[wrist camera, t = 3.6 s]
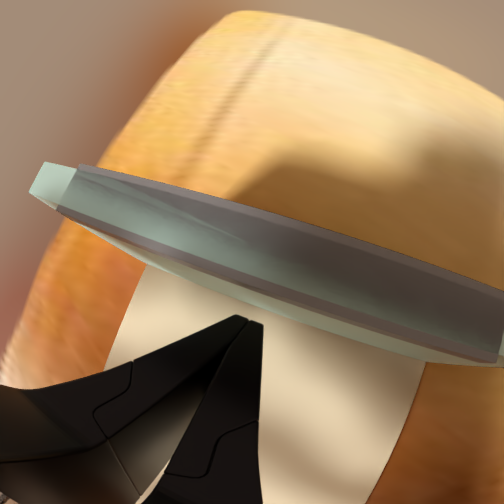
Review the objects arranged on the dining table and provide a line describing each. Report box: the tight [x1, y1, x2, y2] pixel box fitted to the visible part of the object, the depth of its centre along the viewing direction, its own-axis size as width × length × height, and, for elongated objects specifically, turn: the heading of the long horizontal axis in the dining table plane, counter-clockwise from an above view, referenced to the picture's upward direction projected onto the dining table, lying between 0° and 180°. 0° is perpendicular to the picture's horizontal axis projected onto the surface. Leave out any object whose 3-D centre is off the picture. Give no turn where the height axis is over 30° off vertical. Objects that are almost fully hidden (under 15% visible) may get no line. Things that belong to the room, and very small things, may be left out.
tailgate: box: [29, 162, 504, 368], centre depth 11 cm, size 2×16×9 cm, turn 68°
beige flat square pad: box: [104, 264, 426, 504], centre depth 14 cm, size 16×16×2 cm
